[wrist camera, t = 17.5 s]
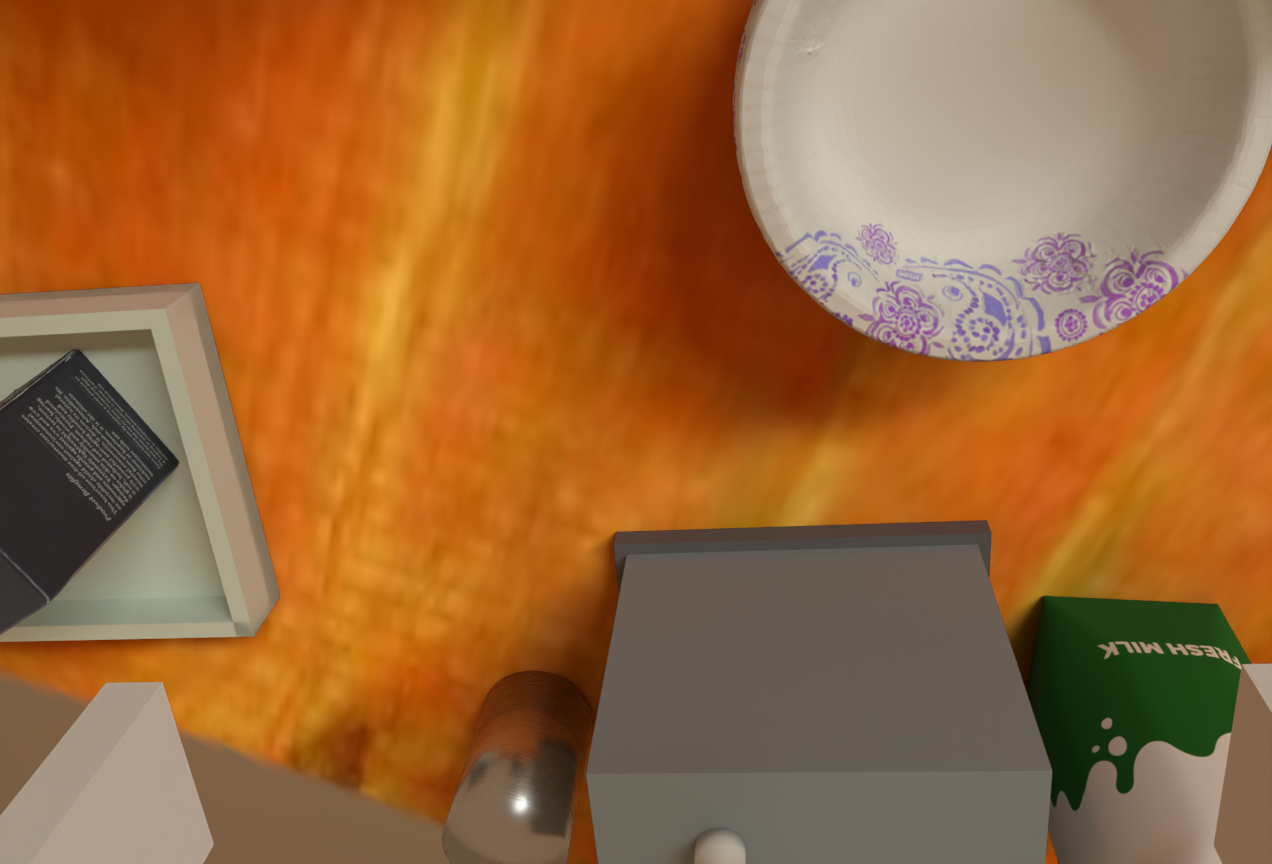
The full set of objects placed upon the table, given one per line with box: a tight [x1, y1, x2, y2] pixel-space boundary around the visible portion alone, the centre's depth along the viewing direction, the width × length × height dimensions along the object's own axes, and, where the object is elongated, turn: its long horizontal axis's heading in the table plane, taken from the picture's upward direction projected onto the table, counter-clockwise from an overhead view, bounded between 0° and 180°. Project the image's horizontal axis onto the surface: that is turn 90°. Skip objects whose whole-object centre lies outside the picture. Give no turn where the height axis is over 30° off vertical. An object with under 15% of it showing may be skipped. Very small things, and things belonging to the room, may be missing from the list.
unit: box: [586, 520, 1052, 864], centre depth 44 cm, size 11×15×15 cm
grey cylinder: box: [442, 671, 593, 864], centre depth 50 cm, size 5×5×8 cm
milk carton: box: [1027, 596, 1251, 864], centre depth 41 cm, size 9×9×20 cm
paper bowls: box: [733, 0, 1272, 362], centre depth 36 cm, size 15×15×8 cm
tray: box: [0, 283, 280, 642], centre depth 49 cm, size 14×16×3 cm
